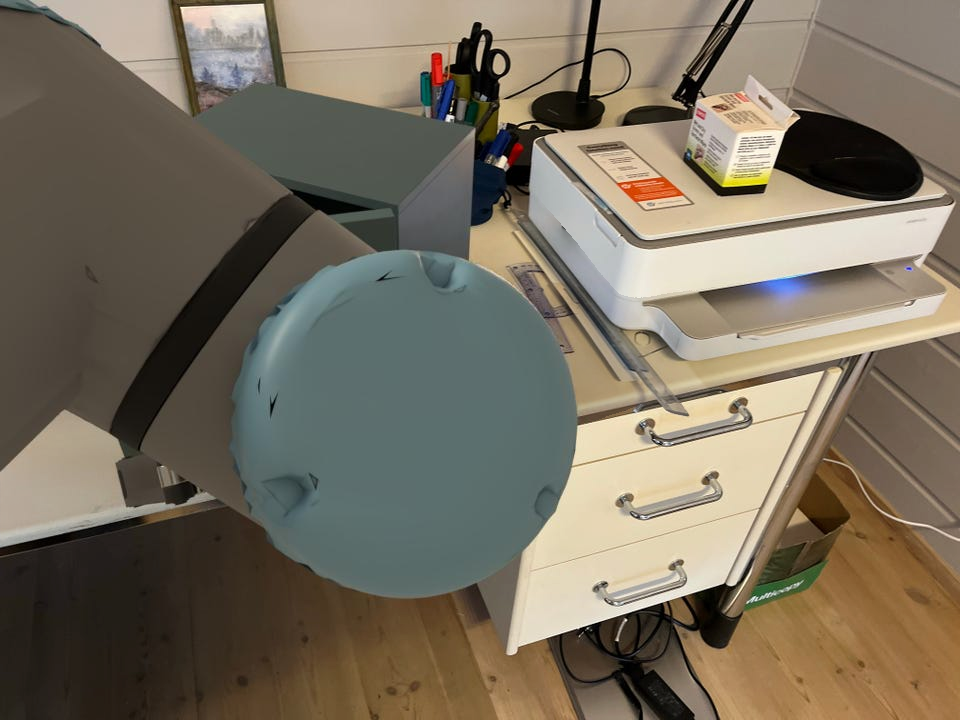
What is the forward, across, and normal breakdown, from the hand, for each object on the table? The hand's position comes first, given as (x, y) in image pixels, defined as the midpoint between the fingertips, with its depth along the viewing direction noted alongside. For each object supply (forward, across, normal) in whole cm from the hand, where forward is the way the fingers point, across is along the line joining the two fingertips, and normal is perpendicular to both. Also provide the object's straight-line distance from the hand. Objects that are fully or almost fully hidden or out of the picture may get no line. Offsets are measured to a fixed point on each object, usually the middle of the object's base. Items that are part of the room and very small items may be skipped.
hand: (286, 438), depth 50 cm
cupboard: (+37, +11, +11) cm, 40 cm away
